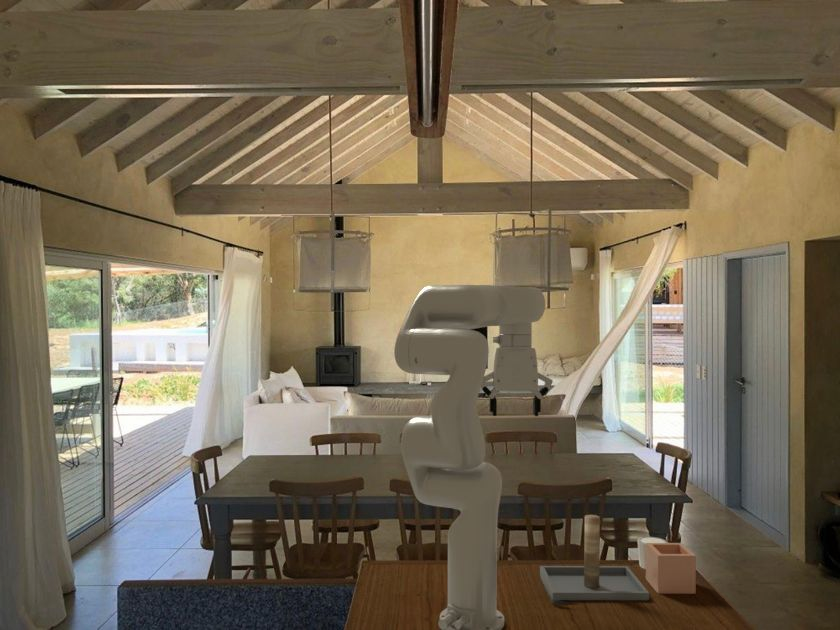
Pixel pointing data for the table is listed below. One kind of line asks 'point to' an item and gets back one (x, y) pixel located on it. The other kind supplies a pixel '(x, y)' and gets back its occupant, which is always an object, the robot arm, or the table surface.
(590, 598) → the tray
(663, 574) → the holder
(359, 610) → the table surface
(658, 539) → the cream short cylinder
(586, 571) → the dowel
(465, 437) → the robot arm
